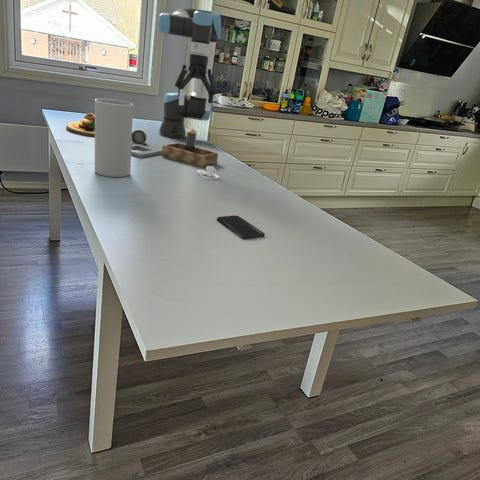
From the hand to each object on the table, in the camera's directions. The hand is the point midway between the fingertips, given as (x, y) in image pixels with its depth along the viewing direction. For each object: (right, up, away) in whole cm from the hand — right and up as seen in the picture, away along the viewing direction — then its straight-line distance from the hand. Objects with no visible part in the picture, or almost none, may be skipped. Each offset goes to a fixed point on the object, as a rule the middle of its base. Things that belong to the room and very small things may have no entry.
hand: (194, 108), depth 176 cm
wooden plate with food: (-54, -1, +38) cm, 66 cm away
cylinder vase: (-27, -33, -27) cm, 50 cm away
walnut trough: (-3, -21, +9) cm, 23 cm away
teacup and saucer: (+7, -30, -8) cm, 32 cm away
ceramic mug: (-31, -10, +24) cm, 41 cm away
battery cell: (-3, -20, +8) cm, 22 cm away
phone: (+20, -54, -58) cm, 82 cm away
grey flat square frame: (-26, -17, +8) cm, 32 cm away
